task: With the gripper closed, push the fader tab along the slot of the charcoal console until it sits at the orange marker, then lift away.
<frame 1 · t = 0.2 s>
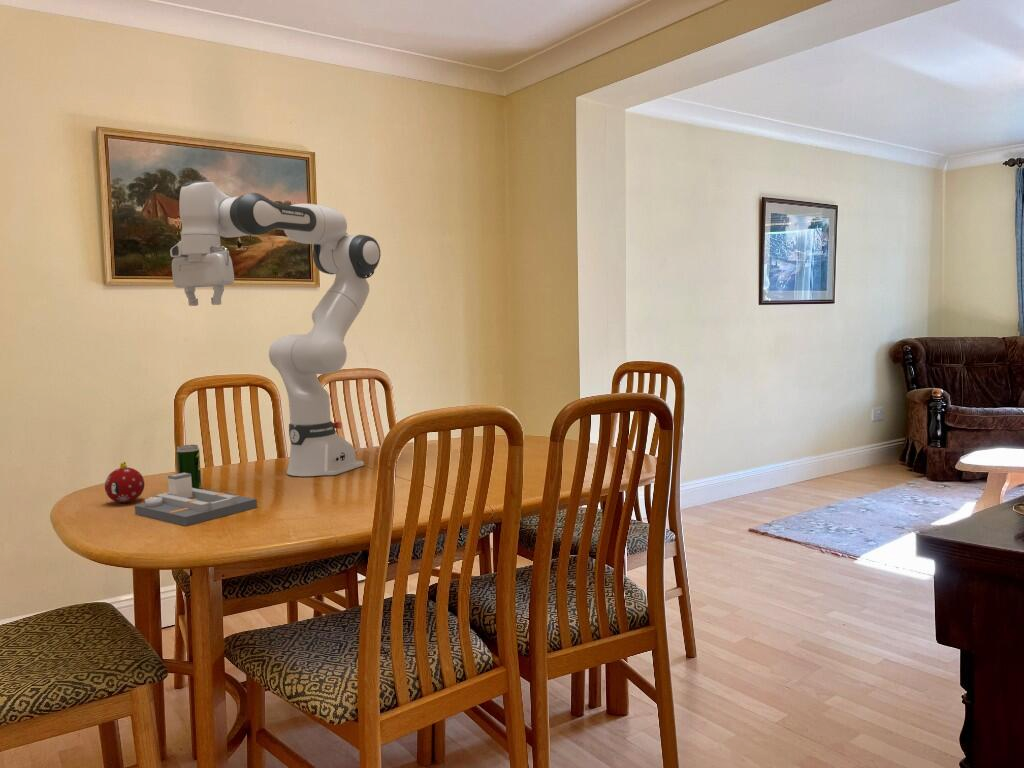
hand: (204, 305, 186), 47 cm above the table, fingers open, 8 cm apart
console: (196, 510, 175), on the table
beer can: (190, 493, 194), on the table
christmas ornament: (126, 503, 185), on the table
fader tab: (180, 486, 178), point 5 cm above the table, slide at 0.0 cm
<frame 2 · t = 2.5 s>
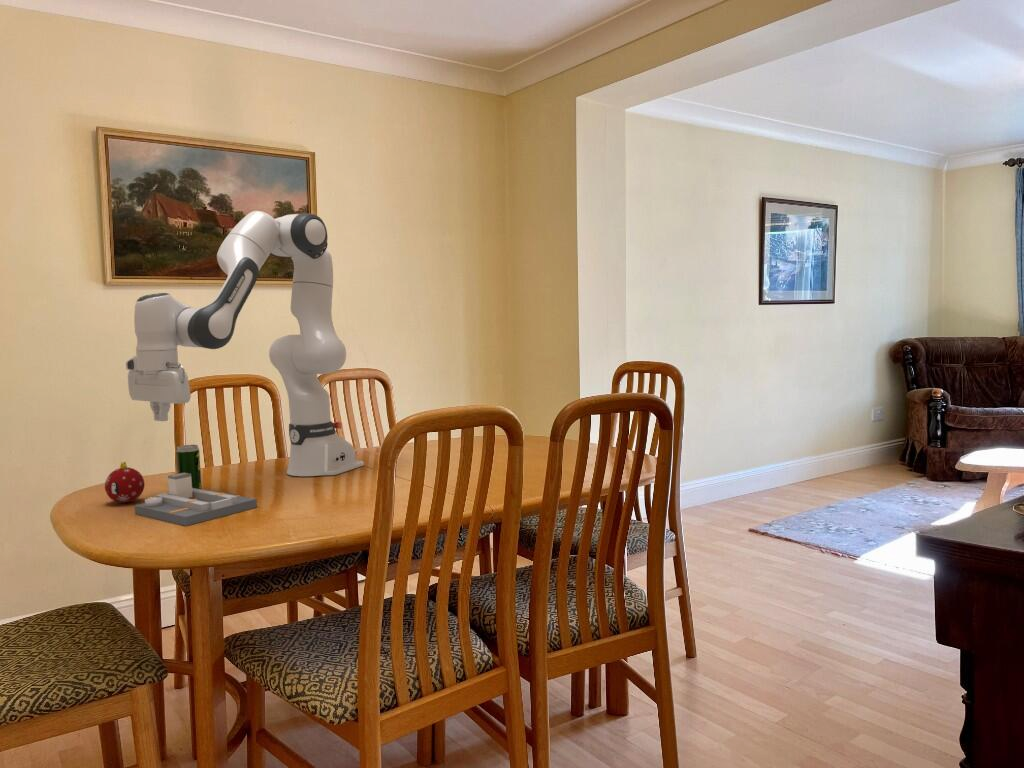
hand: (161, 420, 180), 20 cm above the table, fingers closed
nothing on the table moved.
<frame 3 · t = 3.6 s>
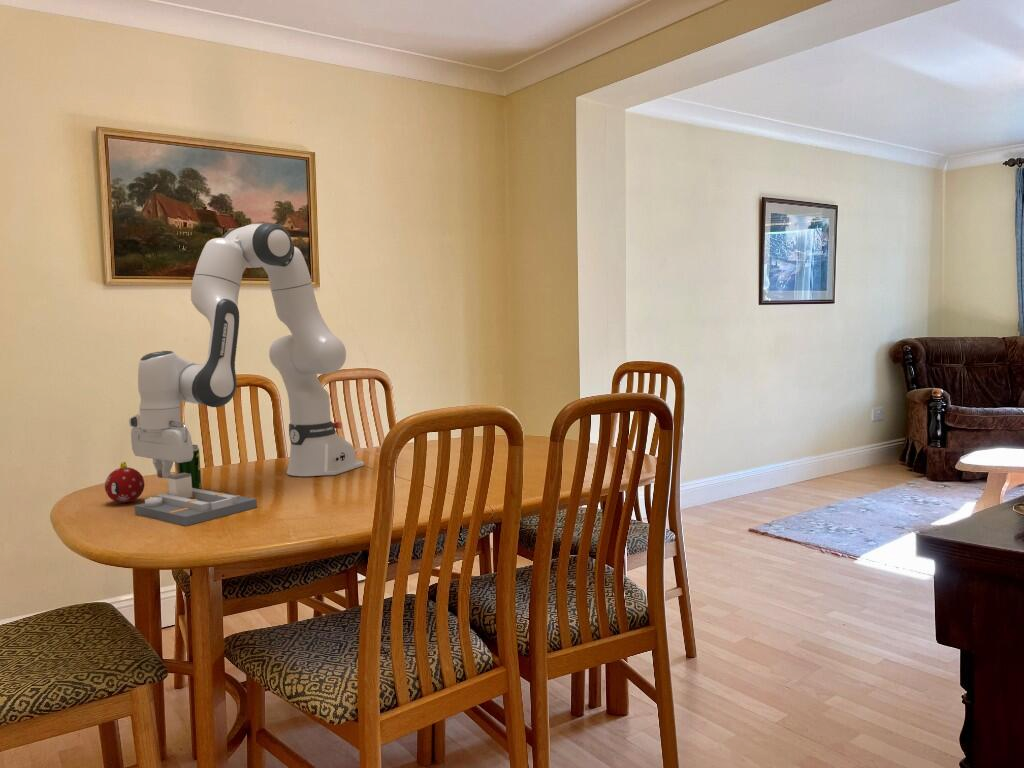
hand: (163, 477, 181), 7 cm above the table, fingers closed
nothing on the table moved.
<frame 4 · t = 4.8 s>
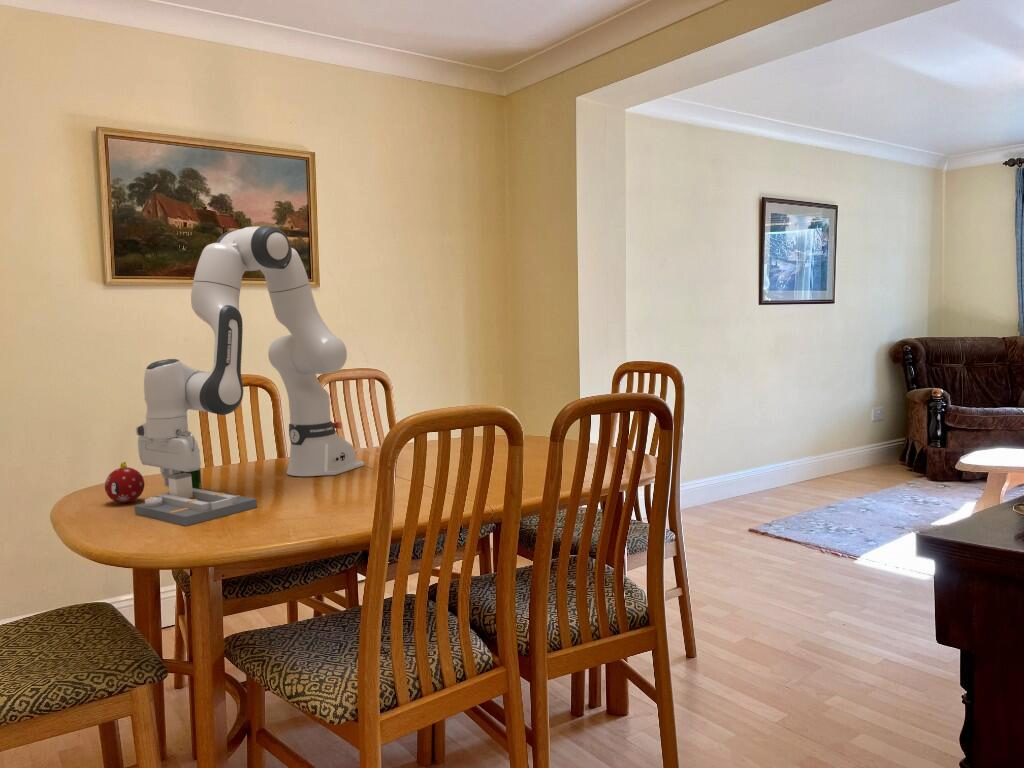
hand: (171, 486, 180), 5 cm above the table, fingers closed
fader tab: (180, 486, 178), point 5 cm above the table, slide at 0.1 cm, touching gripper
everything else where it was.
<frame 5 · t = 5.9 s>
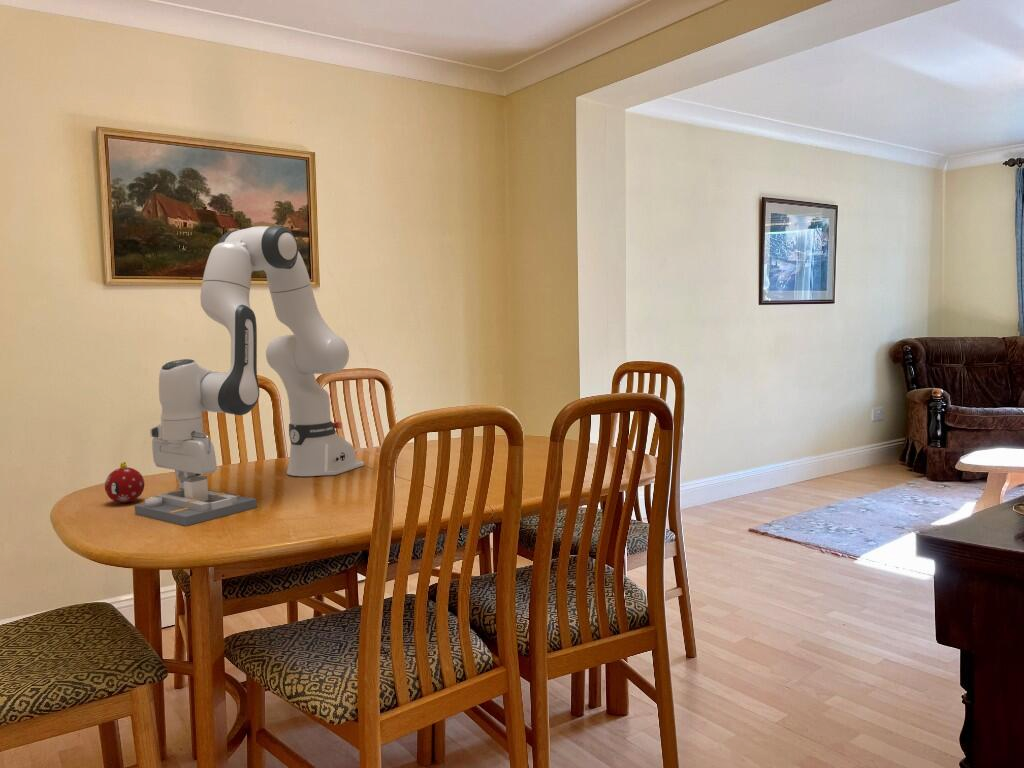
hand: (186, 489, 177), 5 cm above the table, fingers closed
fader tab: (196, 489, 175), point 5 cm above the table, slide at 6.3 cm, touching gripper
everything else where it was.
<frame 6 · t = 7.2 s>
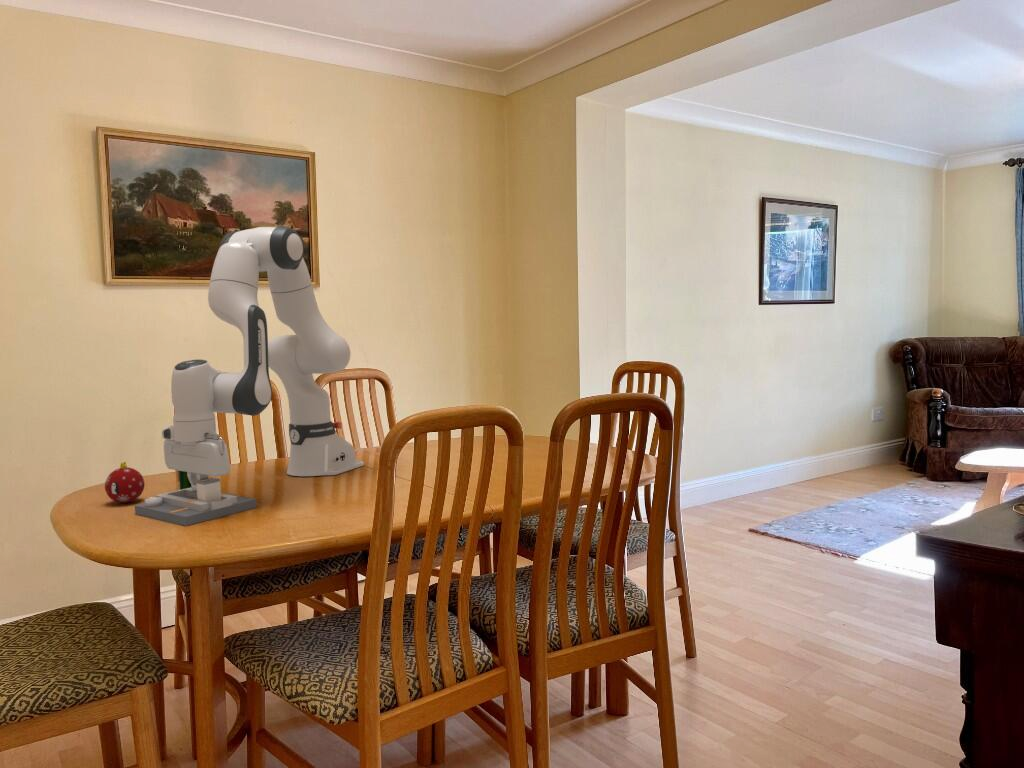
hand: (198, 491, 174), 5 cm above the table, fingers closed
fader tab: (208, 491, 172), point 5 cm above the table, slide at 11.2 cm, touching gripper
everything else where it was.
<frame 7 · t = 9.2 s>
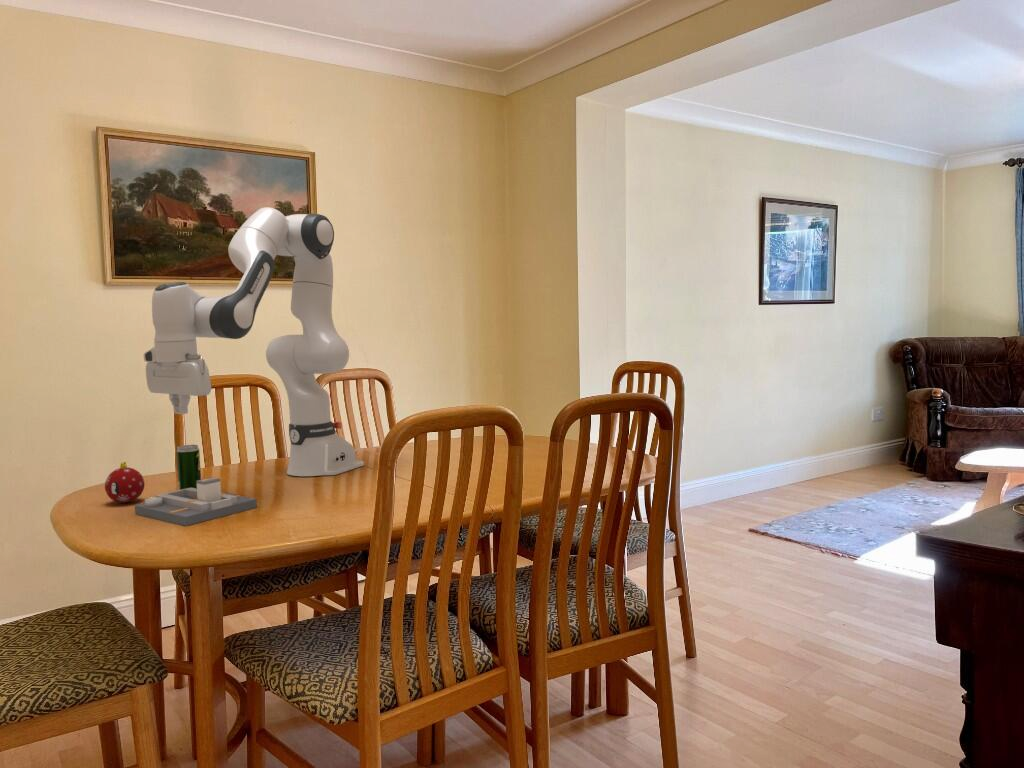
hand: (180, 413, 175), 22 cm above the table, fingers closed
fader tab: (209, 491, 172), point 5 cm above the table, slide at 11.2 cm
everything else where it was.
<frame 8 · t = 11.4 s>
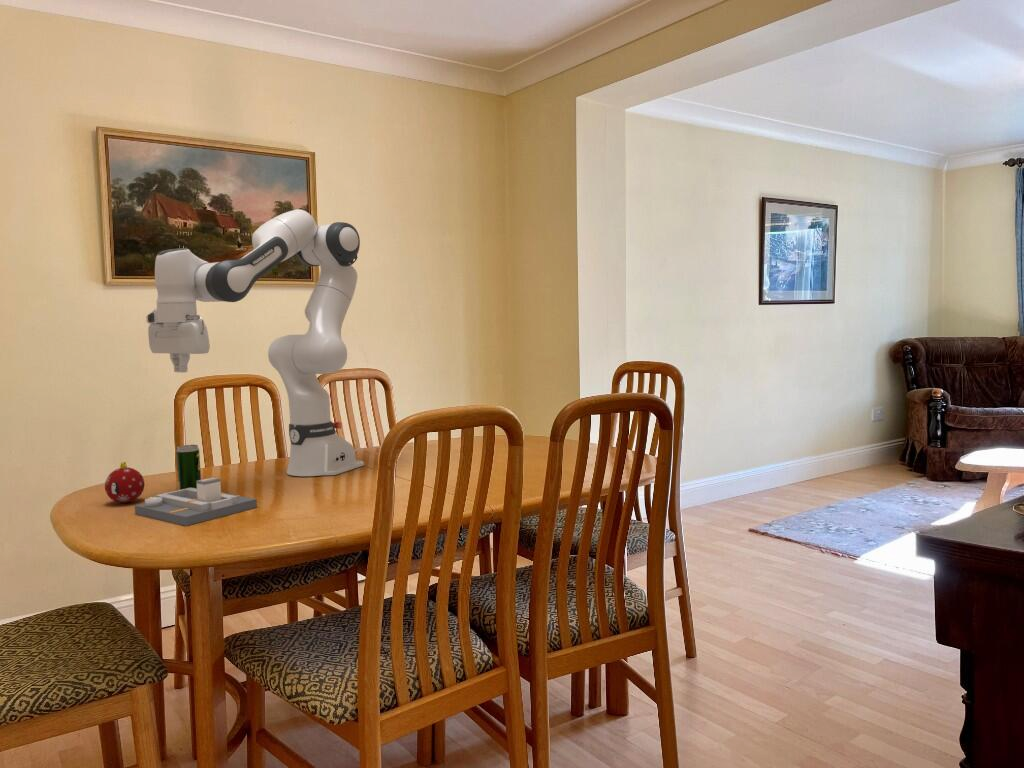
hand: (180, 372, 186), 31 cm above the table, fingers closed
nothing on the table moved.
at the end: fader tab slide at 11.2 cm; fader tab 0.9 cm from the target spot, resting on console; fader tab touching nothing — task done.
